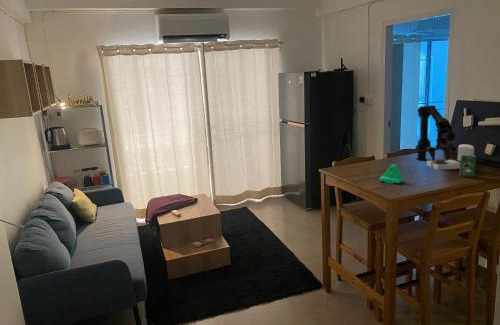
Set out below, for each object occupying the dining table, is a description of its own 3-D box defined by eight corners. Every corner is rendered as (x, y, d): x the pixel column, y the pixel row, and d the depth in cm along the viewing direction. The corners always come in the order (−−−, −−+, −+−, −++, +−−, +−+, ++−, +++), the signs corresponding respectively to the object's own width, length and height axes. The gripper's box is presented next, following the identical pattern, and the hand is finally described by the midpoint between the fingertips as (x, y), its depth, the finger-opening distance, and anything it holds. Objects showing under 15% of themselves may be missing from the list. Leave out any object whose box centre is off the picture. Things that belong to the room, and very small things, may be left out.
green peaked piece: (378, 182, 226) (379, 165, 224) (383, 179, 232) (383, 163, 229) (398, 185, 218) (399, 168, 216) (403, 182, 224) (404, 165, 222)
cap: (433, 166, 258) (433, 159, 257) (441, 165, 258) (442, 158, 257) (437, 168, 252) (438, 161, 251) (446, 167, 253) (447, 160, 251)
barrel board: (426, 165, 262) (426, 160, 261) (451, 163, 263) (451, 159, 262) (437, 169, 248) (437, 165, 248) (463, 168, 249) (464, 164, 248)
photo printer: (456, 160, 271) (457, 144, 268) (458, 159, 273) (460, 143, 271) (471, 162, 263) (473, 145, 260) (474, 161, 265) (475, 144, 263)
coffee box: (473, 175, 231) (475, 155, 228) (474, 177, 228) (476, 156, 225) (458, 175, 232) (460, 155, 230) (460, 176, 230) (462, 156, 227)
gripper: (434, 141, 243) (433, 164, 246) (462, 139, 244) (460, 163, 247) (425, 138, 254) (424, 160, 257) (452, 137, 254) (450, 159, 258)
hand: (440, 161), depth 254 cm, fingers open, 9 cm apart
